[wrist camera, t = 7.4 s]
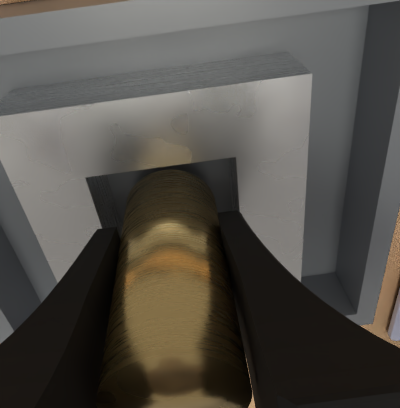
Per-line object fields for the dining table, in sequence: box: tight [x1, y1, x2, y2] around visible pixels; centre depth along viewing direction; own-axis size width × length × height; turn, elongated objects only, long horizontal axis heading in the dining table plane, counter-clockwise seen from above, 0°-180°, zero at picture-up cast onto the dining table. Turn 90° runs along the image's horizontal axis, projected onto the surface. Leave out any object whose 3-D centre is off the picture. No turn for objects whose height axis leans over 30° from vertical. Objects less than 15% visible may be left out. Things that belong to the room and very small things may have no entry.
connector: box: [97, 170, 252, 408], centre depth 11 cm, size 3×3×7 cm
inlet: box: [0, 51, 312, 282], centre depth 14 cm, size 9×9×2 cm
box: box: [0, 0, 400, 343], centre depth 14 cm, size 16×14×4 cm
